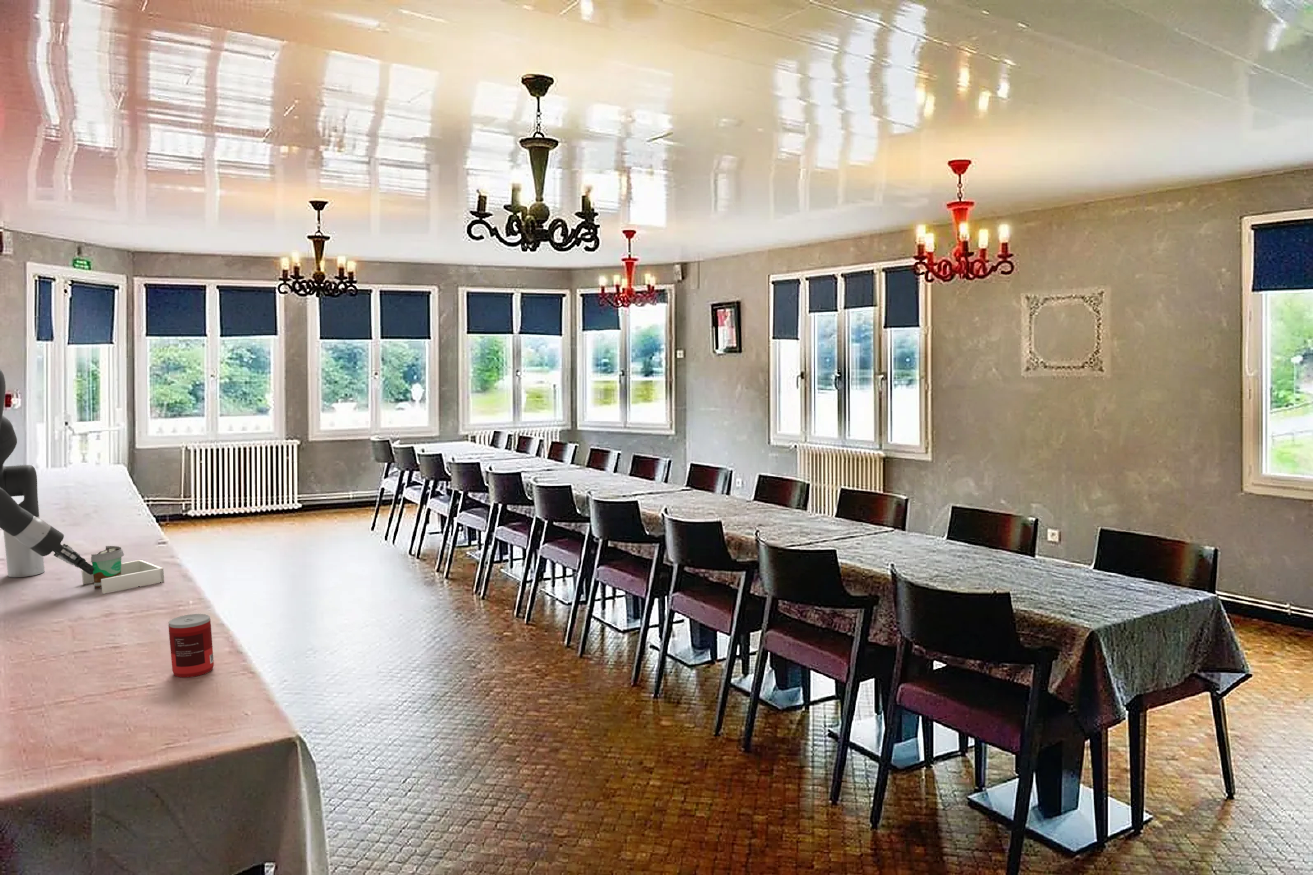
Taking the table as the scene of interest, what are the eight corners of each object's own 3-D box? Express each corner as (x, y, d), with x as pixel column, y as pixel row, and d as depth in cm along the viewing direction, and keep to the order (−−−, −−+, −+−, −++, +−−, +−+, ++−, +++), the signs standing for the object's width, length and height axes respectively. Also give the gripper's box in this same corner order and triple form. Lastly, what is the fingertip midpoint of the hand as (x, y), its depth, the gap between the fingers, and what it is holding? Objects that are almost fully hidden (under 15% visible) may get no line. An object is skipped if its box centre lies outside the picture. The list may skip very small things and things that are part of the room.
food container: (117, 588, 257) (114, 553, 256) (92, 590, 255) (90, 554, 254) (131, 578, 269) (129, 544, 268) (108, 579, 267) (106, 545, 266)
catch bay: (82, 583, 263) (81, 570, 263) (142, 572, 275) (141, 559, 274) (103, 593, 251) (101, 579, 251) (164, 581, 263) (163, 568, 262)
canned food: (201, 662, 193) (197, 611, 191) (222, 669, 188) (218, 617, 187) (164, 673, 186) (160, 621, 185) (185, 680, 182) (180, 627, 181)
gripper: (56, 527, 244) (110, 563, 254) (42, 522, 253) (95, 557, 263) (34, 550, 240) (90, 586, 250) (21, 544, 249) (76, 579, 259)
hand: (93, 571), depth 257 cm, fingers closed
